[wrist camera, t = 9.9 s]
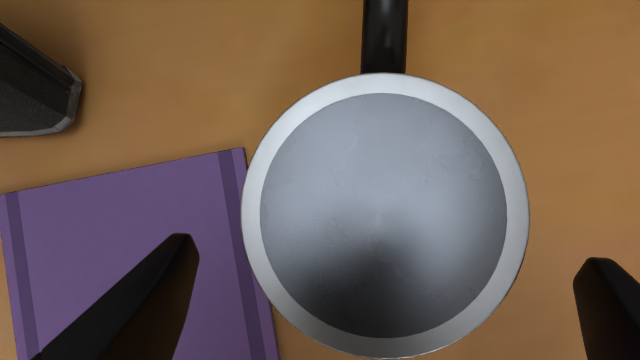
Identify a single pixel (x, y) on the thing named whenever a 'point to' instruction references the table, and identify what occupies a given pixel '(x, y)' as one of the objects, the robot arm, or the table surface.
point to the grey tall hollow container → (384, 207)
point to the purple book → (136, 252)
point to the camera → (34, 90)
